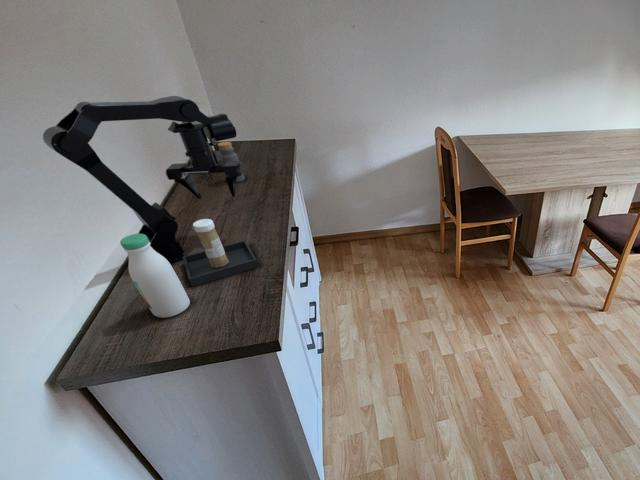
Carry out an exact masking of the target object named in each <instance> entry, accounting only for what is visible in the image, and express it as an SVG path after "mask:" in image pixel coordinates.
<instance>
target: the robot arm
mask: <svg viewBox="0 0 640 480" xmlns="http://www.w3.org/2000/svg"><path fill="white" fill-rule="evenodd" d="M157 119H159V120H166V121H171V123H170V126H168V128H167V131H168V132H171V133H173V134H179V136H180V139H181V141H182V144H183V146H184V149H185V152H184V154H185V156H186V157H188V159H189V161H190V163H191V166H189V164H187V162H184V163H183V162H182V163H181V162H180V163H172V164H171V165H169V166H168V167H167V168H166V170H165V176H166V178H167V180H169V181H173V182H174V183H178V184H180V185H182V186H183V187H184V188H185V189H187V191H189V192H190V193H191V194H192V195H193V196H194V197H196V198H197V199H198V200H200V199H202V195H201V192H200V190H199V187H198V186H197V184H196V182H195V180H194V175H195V174H216V173H218V174H219V173H224V175H226V177H225V181H226V184H227V187H228V189H229V192H230V194H231V196H232V197H233V198H234V197H236V187H237V186H236V185H237V182H236V179H237V178H238V177H239V176H241V175H242V174H244V172H245V170H246V166H245V163H243V161H241V160H239V161H228V162H227V163H226V164H225V165H223V164H222V165H219V164H220V163H222V158H221V154H222V152H220V151H219V150H214V148H213V147H212V145H210V144H209V141H208V140H211V141H212V142H214V143H217V142H223V141H225V140H230V139H235V138H237V129H236V127H235V126H234V124H233V122H232V121H231V120H230V118H229V116H228V114H226V113H224V112H222V113H218V114H215V115H210V116H207V115H206V114H205V113H203V112H202V111H201V110H200V108H199V106H198V105H197V103H196V102H195V101H193V100H192V99H189V98H185V97H182V96H179V95H171V96H164V97H160V98H157V99H154V100H149V101H148V100H147V101H109V102H107V101H105V102H90V101H80V102H78V103H77V104H76V106H74V107H73V109H72V110H71V111H70V112H69V113H67V114H66V115H65V116H64V117H62V118H61V119H60V120H59V121H58V123H57V124H56V125H55V126H50V127H48V128H46V129H45V130H44V132H43V133H42V141H43V140H44V141H43V142H44V143H45V145H46V146H47V147H48V148H49V149H51V150H53V151H54V152H56V153H57V154H59V156H62V157H63V158H65V159H66V160H68V161H70V162H72V163H73V164H75V165H76V166H78V167H80V168H82V169H83V170H84V171H86V173H88V174H89V175H90V176H91V177H93V178H94V179H95V180H96V181H98V182H99V183H100V184H101V185H102V186H103V187H105V188H106V189H107V190H108V191H109V192H111V193H112V194H113V195H115V197H117V198H118V199H119V200H120V201H121V202H122V203H124V204H125V205H126V206H127V207H128V208H129V209H130V210H132V212H133V213H134V214H135V216H136V217H137V218H138V220H139V221H140V222H141V223H142V226H141V228H140V229H139V231H138V233H137V234H145V235H146V236H147V238H148V240H149V242H150V246H151V247H152V248H153V249H154V250H155V251H156V252H157V253H159V254H160V255H162V256H163V257H164V258H166V259H167V261H168V262H169V263H170V264H171V265H172V264H173V263H176V262H178V261H181V260H183V256H186V254H185V251H184V249H183V247H182V245H181V243H180V241H179V240H177V239H176V233H177V231H178V227H179V224H178V222H177V221H176V220H177V218H176V217H175V216H173V214H170V213H169V211H168V209H166V207H164V206H162V205H161V204H159V203H158V202H156V201H155V202H154V203H153V204H150V203H149V202H148V201H146V200H145V198H143V197H142V196H141V195H140V194H138V193H137V191H135V190H134V188H132V187H131V186H130V185H129V184H127V183H126V182H125V181H124V180H123V179H122V178H121V177H120V176H118V175H117V174H116V173H115V172H114V171H113V170H111V168H109V167H108V166H107V165H106V164H105V163H104V162H103V161H102V160H101V159H100V156H99V155H98V153H97V152H96V151H95V150H94V148H93V147H92V146H91V145H90V144H89V143H90V142H91V140H92V139H93V137H94V136H95V134H96V132H97V130H98V128H99V126H100V124H101V123H102V122H116V121H117V122H119V121H138V120H157ZM179 122H181V123H179ZM194 122H197V123H194Z"/></svg>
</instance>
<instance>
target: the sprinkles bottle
mask: <svg viewBox="0 0 640 480" xmlns="http://www.w3.org/2000/svg"><path fill="white" fill-rule="evenodd" d="M192 227H193V230H194V231H195V233H196V234H197V236H198V238H199V241H200V243H201V246H202V248H203V251H205V253H206V255H207V257H208V259H209V261H210V265H211V266H212V267H214V268H219V267H223V266H225V265H227V264H228V263H229V260H228V259H227V257H226V254H225V251H224V248H223V246H224V245H223V243H222V241H221V239H220V236H219V234H218V232H217V230H216V226H215V223H214V221H213V220H212V219H211V218H202V219H201V218H200V219H198V220H195V221H194V222H193V223H192Z"/></svg>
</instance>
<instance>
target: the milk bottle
mask: <svg viewBox="0 0 640 480" xmlns="http://www.w3.org/2000/svg"><path fill="white" fill-rule="evenodd" d="M119 243H120V246H121V247H122V249H123V250H124V252H126V253H127V257H128V274H129V276H130V279H131V281H132V282H133V284H134V286H135V287H136V289H137V291H138V292H139V294H140V296H141V297H142V299H143V301H144V302H145V304H146V306H147V307H148V309H149V311H150V312H151V313H152V315H153V316H155V317H156V318H161V319H163V318H171V317H173V316H177V315H179V314H181V313H183V312H184V311H186V309H188V308H189V306H190V305H191V304H190V303H191V300H190V298H189V296H188V294H187V291H186V290H185V288H184V286H183V284H182V282H181V281H180V279H179V277H178V275H177V273H176V272H175V269H174V268H173V266H172V263H171V264H170V263H169V262H168V261H167V259H166V258H164V257H163V256H162V255H160V254H159V253H157V252H156V251H155V250H154V249H153V248H152V247H151V246H150V242H149V240H148V238H147V236H146V235H145V234H138V233H133V234H129V235H126V236H125V237H122V238H121V239H120V242H119Z"/></svg>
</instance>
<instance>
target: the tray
mask: <svg viewBox="0 0 640 480" xmlns="http://www.w3.org/2000/svg"><path fill="white" fill-rule="evenodd" d="M222 246H223V248H224V251H225V254H226V257H227V259H228V260H229V263H228V264H227V265H225V266H223V267H219V268H214V267H212V266H211V265H210V261H209V259H208V257H207V255H206V253H205V250H203V251H199V252H194V253H191V254H186V255H185V256H183V259H182V260H183V265H184V268H185V271H186V275H187V278H188V281H189V284H190V285H191V287H197V286H200V285H203V284H207V283H210V282H214V281H216V280H219V279H223V278H226V277H231V276H232V275H236V274H239V273H242V272H246V271H249V270H252V269H253V270H254V269H256V268H259V263H258V261H257V258H256V257H255V255H254V253H253V250H252V249H251V247H250V245H249V244H248V242H247V239H243V240H239V241H236V242H232V243H228V244H225V245H222Z"/></svg>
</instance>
